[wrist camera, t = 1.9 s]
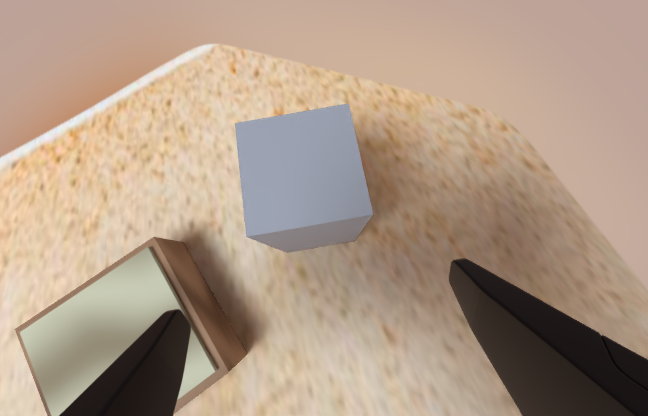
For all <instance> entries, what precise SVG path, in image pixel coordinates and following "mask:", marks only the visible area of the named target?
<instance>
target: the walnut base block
mask: <svg viewBox="0 0 648 416" xmlns="http://www.w3.org/2000/svg"><path fill="white" fill-rule="evenodd" d="M174 309H180V310H181V311H182V312H183V314H184V315H185V317H186V318H187V320H188V321H189V323H190V325H191V334H190V340H189V345H188V351H187V357H186V363H185V369H184V375H183V380H182V384H181V388H180V392H179V395H178V399H177V403H176V406H175V410H174V413H175V412H177V411H178V410H179V409H181V408H182V407H183V406H185V405H186V404H187V403H189V402H190V401H191V400H193V399H194V398H195V397H196V396H198V395H199V394H200V393H202V392H203V391H204V390H206V389H207V388H208V387H210V386H211V385H212V384H214V383H215V382H216V381H218V380H219V379H220V378H222V377H223V376H224V375H226V374H227V373H228V372H229V371H230V370H231V369H232V368H233V367H234V366H236V365H237V364H238V363H239V362H240V361H241V360H242V359H243V358H244V357H245V356H246V355H247V352H246V350H245V349H244V347H243V345H242V343H241V342H240V340H239V338H238V337H237V335H236V333H235V331H234V330H233V328H232V326H231V324H230V323H229V321H228V319H227V318H226V316H225V314H224V312H223V311H222V309H221V307H220V305H219V304H218V302H217V300H216V299H215V297H214V295H213V293H212V292H211V290H210V288H209V287H208V285H207V283H206V281H205V280H204V278H203V276H202V274H201V273H200V271H199V269H198V268H197V266H196V264H195V262H194V261H193V259H192V257H191V255H190V254H189V252H188V250H187V249H186V247H185V245H184V243H183V242H178V241H173V240H168V239H163V238H157V237H153V238H151V239H150V240H148V241H147V242H145V243H144V244H142V245H141V246H139V247H138V248H136V249H135V250H133V251H132V252H130V253H129V254H127V255H126V256H124V257H123V258H121V259H120V260H118V261H117V262H115V263H114V264H112V265H111V266H109V267H108V268H106V269H105V270H103V271H102V272H100V273H99V274H97V275H96V276H94V277H93V278H91V279H90V280H88V281H87V282H85V283H84V284H82V285H81V286H79V287H78V288H76V289H75V290H73V291H72V292H70V293H69V294H67V295H66V296H64V297H63V298H61V299H60V300H58V301H57V302H55V303H54V304H52V305H51V306H49V307H48V308H46V309H45V310H43V311H42V312H40V313H39V314H37V315H36V316H34V317H33V318H31V319H30V320H28V321H27V322H25V323H24V324H22V325H21V326H19V327H18V328H16V329H15V331H16V333H17V336H18V339H19V341H20V344H21V347H22V349H23V352H24V354H25V357H26V360H27V362H28V365H29V368H30V370H31V373H32V376H33V378H34V381H35V383H36V386H37V389H38V391H39V394H40V397H41V399H42V402H43V405H44V407H45V410H46V412H47V415H48V416H59V415H60V414H61V413H62V412H63V411H64V410H65V409H66V408H67V407H68V406H69V405H70V404H71V403H72V402H73V401H74V400H75V399H76V398H77V397H78V396H79V395H80V394H81V393H82V392H84V391H85V390H86V389H87V388H88V387H89V386H90V385H91V384H92V383H93V382H94V381H95V380H96V379H97V378H98V377H99V376H100V375H101V374H102V373H103V372H104V371H105V370H106V369H107V368H108V367H109V366H110V365H111V364H112V363H113V362H114V361H115V360H116V359H117V358H118V357H119V356H120V355H121V354H122V353H123V352H124V351H125V350H126V349H127V348H128V347H129V346H130V345H131V344H132V343H133V342H134V341H135V340H136V339H137V338H138V337H140V336H141V335H142V334H143V333H144V332H145V331H146V330H147V329H148V328H149V327H150V326H151V325H152V324H153V323H154V322H155V321H156V320H157V319H158V318H159V317H160V316H161V315H162V314H163V313H164V312H166V311H168V310H174Z"/></svg>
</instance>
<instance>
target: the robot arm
mask: <svg viewBox="0 0 648 416" xmlns="http://www.w3.org/2000/svg"><path fill="white" fill-rule="evenodd" d="M449 282H450V285H451V287H452V289H453V291H454V294H455V296H456V298H457V300H458V302H459V304H460V306H461V309H462V311H463V313H464V315H465V317H466V319H467V322H468V324H469V326H470V328H471V329H472V331H473V333H474V335H475V337H476V338H477V340H478V342H479V343H480V345H481V347H482V348H483V350H484V352H485V353H486V355H487V357H488V358H489V360H490V362H491V363H492V365H493V367H494V368H495V370H496V372H497V374H498V375H499V377H500V379H501V380H502V382H503V384H504V385H505V387H506V389H507V390H508V392H509V394H510V395H511V397H512V399H513V400H514V402H515V404H516V405H517V407H518V409H519V411H520V412H521V414H522V416H648V360H647V359H646V358H644V357H642V356H640V355H638V354H636V353H634V352H633V351H631V350H629V349H627V348H625V347H623V346H622V345H620V344H618V343H616V342H614V341H613V340H611V339H609V338H607V337H606V336H603V335H600V334H599V333H598V332H596V331H595V330H593V329H591V328H589V327H588V326H586V325H584V324H582V323H580V322H579V321H577V320H575V319H573V318H571V317H570V316H568V315H566V314H564V313H563V312H561V311H559V310H557V309H555V308H554V307H552V306H550V305H548V304H546V303H545V302H543V301H541V300H539V299H538V298H536V297H534V296H532V295H530V294H529V293H527V292H525V291H523V290H521V289H520V288H518V287H516V286H514V285H513V284H511V283H509V282H507V281H505V280H504V279H502V278H500V277H498V276H496V275H495V274H493V273H491V272H489V271H488V270H486V269H484V268H482V267H480V266H479V265H477V264H475V263H473V262H472V261H470V260H468V259H465V258H462V259H456V260H453V261H452V262H451V267H450V274H449ZM190 334H191V325H190V323H189V321H188V320H187V318H186V317H185V315H184V314H183V312H182V311H181V310H180V309H174V310H168V311H166V312H164V313H163V314H162V315H161V316H160V317H159V318H158V319H157V320H156V321H155V322H154V323H153V324H152V325H151V326H150V327H149V328H148V329H147V330H146V331H145V332H144V333H143V334H142V335H141V336H140V337H138V338H137V339H136V340H135V341H134V342H133V343H132V344H131V345H130V346H129V347H128V348H127V349H126V350H125V351H124V352H123V353H122V354H121V355H120V356H119V357H118V358H117V359H116V360H115V361H114V362H113V363H112V364H111V365H110V366H109V367H108V368H107V369H106V370H105V371H104V372H103V373H102V374H101V375H100V376H99V377H98V378H97V379H96V380H95V381H94V382H93V383H92V384H91V385H90V386H89V387H88V388H87V389H86V390H85V391H84V392H82V393H81V394H80V395H79V396H78V397H77V398H76V399H75V400H74V401H73V402H72V403H71V404H70V405H69V406H68V407H67V408H66V409H65V410H64V411H63V412H62V413H61V414H60V415H59V416H173V414H174V410H175V406H176V403H177V399H178V395H179V392H180V388H181V384H182V380H183V375H184V369H185V363H186V357H187V351H188V345H189V340H190Z"/></svg>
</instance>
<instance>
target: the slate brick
mask: <svg viewBox="0 0 648 416" xmlns="http://www.w3.org/2000/svg"><path fill="white" fill-rule="evenodd" d="M235 128H236V138H237V148H238V158H239V168H240V178H241V188H242V198H243V208H244V217H245V227H246V237H248V238H251V239H253V240H256V241H258V242H261V243H264V244H266V245H269V246H271V247H274V248H276V249H279V250H282V251H284V252H287V253H289V252H295V251H300V250H306V249H312V248H317V247H323V246H329V245H334V244H340V243H346V242H351V241H355V240H356V238H357V237H358V235H359V234H360V233H361V231H362V230H363V228H364V227H365V226H366V224H367V223H368V221H369V220H370V219H371V217H372V216H373V210H372V206H371V201H370V197H369V193H368V188H367V184H366V179H365V175H364V170H363V166H362V161H361V157H360V152H359V148H358V143H357V139H356V134H355V130H354V125H353V121H352V116H351V112H350V107H349V104H344V105H338V106H332V107H326V108H321V109H315V110H309V111H303V112H298V113H292V114H286V115H280V116H274V117H269V118H263V119H257V120H251V121H246V122H240V123H235Z"/></svg>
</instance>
